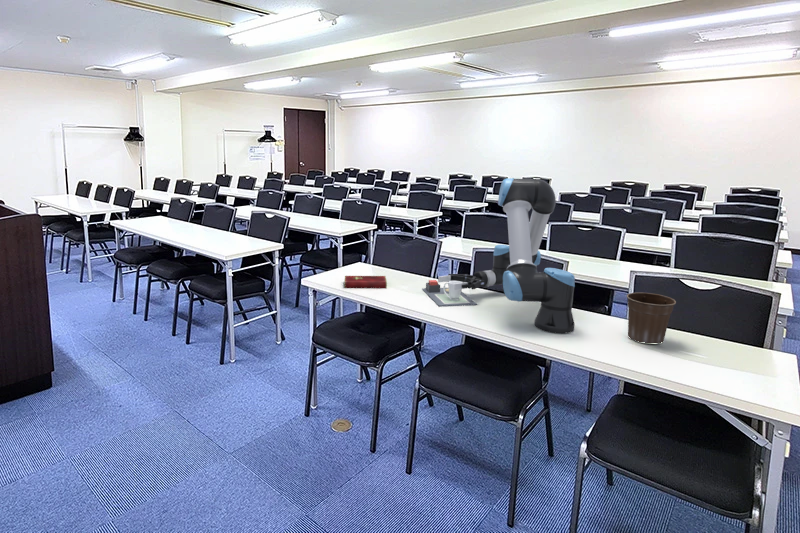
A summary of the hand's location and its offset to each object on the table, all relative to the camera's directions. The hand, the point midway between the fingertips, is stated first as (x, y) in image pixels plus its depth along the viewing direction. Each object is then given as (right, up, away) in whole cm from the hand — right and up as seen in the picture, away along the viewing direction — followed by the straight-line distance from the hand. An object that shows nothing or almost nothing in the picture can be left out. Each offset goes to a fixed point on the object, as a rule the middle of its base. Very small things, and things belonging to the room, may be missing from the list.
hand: (446, 283), depth 219 cm
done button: (-5, -2, +15) cm, 16 cm away
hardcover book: (-39, -3, +25) cm, 46 cm away
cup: (+3, -8, +3) cm, 9 cm away
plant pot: (+71, -20, -39) cm, 83 cm away
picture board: (+2, -7, +8) cm, 11 cm away
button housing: (-5, -5, +16) cm, 17 cm away
